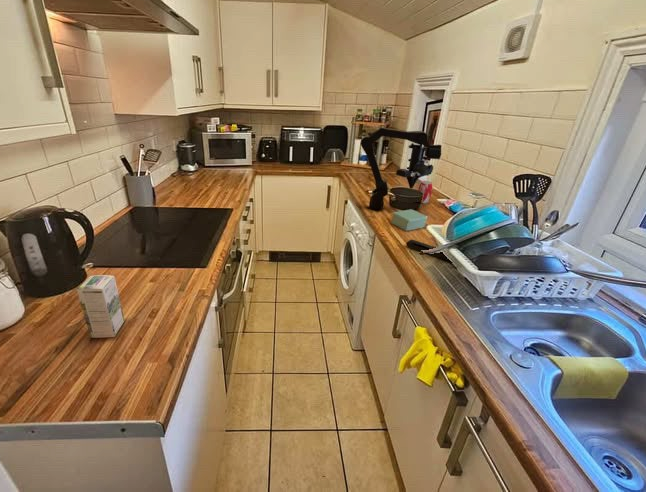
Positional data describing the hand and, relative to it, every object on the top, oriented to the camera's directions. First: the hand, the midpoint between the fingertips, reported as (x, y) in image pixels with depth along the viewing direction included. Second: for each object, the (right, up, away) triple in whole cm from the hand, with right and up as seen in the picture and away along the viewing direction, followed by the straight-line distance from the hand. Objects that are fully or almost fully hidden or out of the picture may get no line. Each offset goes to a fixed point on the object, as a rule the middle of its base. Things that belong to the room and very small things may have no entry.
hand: (411, 188), depth 154 cm
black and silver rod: (-7, -30, -37) cm, 48 cm away
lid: (-6, -15, -14) cm, 21 cm away
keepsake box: (-6, -19, -12) cm, 23 cm away
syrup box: (-107, -45, -78) cm, 140 cm away
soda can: (+15, -6, +20) cm, 26 cm away
